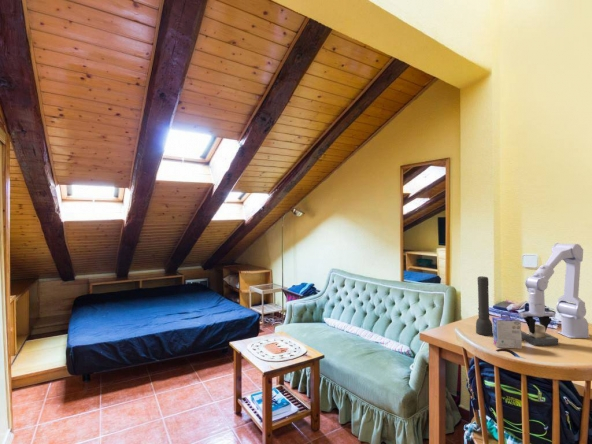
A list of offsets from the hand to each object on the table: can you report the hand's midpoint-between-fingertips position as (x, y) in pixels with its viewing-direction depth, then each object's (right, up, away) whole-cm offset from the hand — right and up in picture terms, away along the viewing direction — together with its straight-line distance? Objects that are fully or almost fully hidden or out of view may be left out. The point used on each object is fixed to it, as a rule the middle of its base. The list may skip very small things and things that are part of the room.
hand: (537, 332), depth 145 cm
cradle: (0, -4, 0) cm, 4 cm away
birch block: (0, -2, 0) cm, 2 cm away
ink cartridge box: (-17, -5, -5) cm, 18 cm away
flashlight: (-18, -5, +11) cm, 22 cm away
